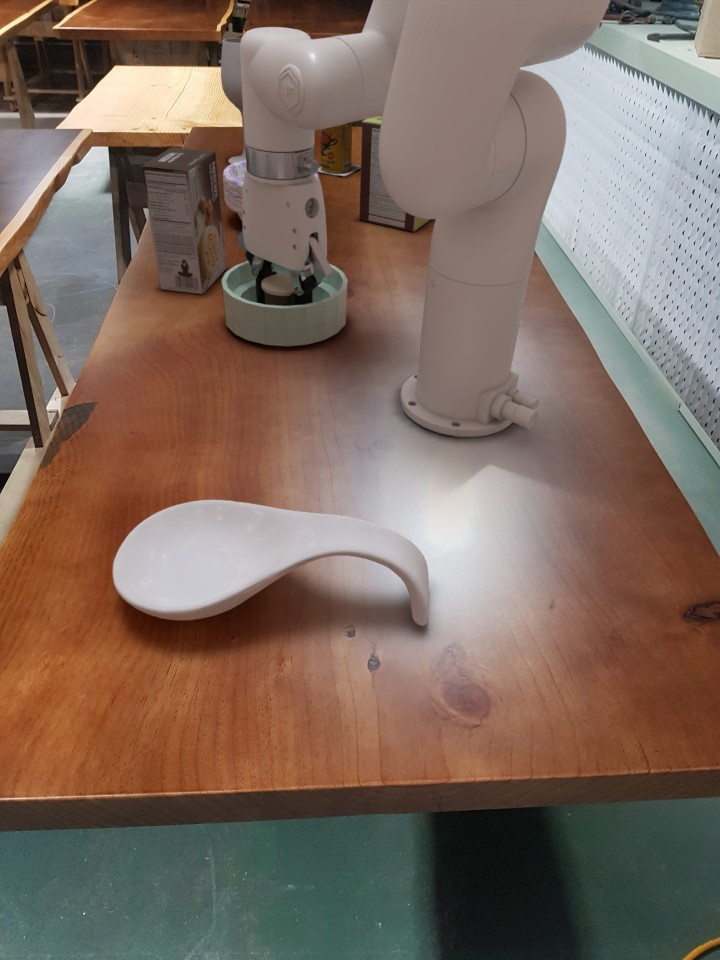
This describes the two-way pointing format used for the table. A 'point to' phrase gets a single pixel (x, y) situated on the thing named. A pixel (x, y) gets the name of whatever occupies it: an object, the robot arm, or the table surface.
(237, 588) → the spoon rest
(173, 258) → the coffee box
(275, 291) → the coffee pod
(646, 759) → the table surface
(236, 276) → the bowl
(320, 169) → the condiment
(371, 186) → the protein box
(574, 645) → the table surface
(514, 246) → the robot arm
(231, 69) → the wineglass
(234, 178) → the paper bowls
